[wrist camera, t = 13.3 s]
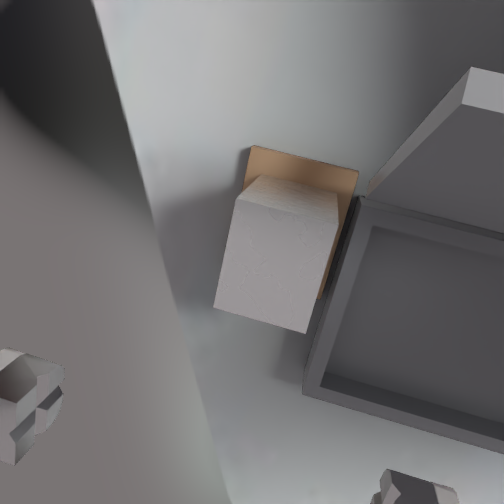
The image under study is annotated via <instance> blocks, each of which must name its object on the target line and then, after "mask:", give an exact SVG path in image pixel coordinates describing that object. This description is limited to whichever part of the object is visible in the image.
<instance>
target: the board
mask: <svg viewBox="0 0 504 504" xmlns="http://www.w3.org/2000/svg"><path fill="white" fill-rule="evenodd" d="M261 174H264V175H268V176H272V177H276V178H280V179H284V180H288V181H291V182H295V183H299V184H303V185H307V186H311V187H315V188H319V189H323V190H327V191H331V192H335V193H337V202H338V223H339V225H338V229H337V232H336V235H335V239H334V242H333V245H332V248H331V252H330V255H329V258H328V262H327V265H326V268H325V272H324V275H323V278H322V281H321V285H320V288H319V291H318V295H317V299H321V296H322V293H323V290H324V286H325V283H326V280H327V277H328V273H329V270H330V267H331V263H332V260H333V257H334V254H335V250H336V247H337V244H338V241H339V237H340V234H341V231H342V228H343V224H344V221H345V218H346V214H347V211H348V208H349V205H350V201H351V198H352V195H353V192H354V188H355V185H356V182H357V179H358V175H359V172H358V171H356V170H352V169H348V168H344V167H340V166H336V165H332V164H328V163H324V162H320V161H316V160H312V159H307V158H303V157H299V156H295V155H291V154H287V153H283V152H279V151H275V150H271V149H267V148H263V147H259V146H255V145H254V146H252V147H251V151H250V155H249V160H248V165H247V169H246V174H245V179H244V183H243V188H242V192H243V191H244V190H245V189H246V188H247V187H248V186H250V185H251V184H252V183H253V182H254V181H255V180H256V179H257V178H258V177H259V176H260V175H261Z"/></svg>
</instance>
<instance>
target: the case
mask: <svg viewBox="0 0 504 504" xmlns="http://www.w3.org/2000/svg"><path fill="white" fill-rule="evenodd" d="M302 394H303V395H306V396H310V397H313V398H317V399H320V400H323V401H327V402H330V403H333V404H337V405H340V406H343V407H347V408H350V409H353V410H357V411H360V412H364V413H367V414H370V415H374V416H377V417H380V418H384V419H387V420H390V421H394V422H397V423H400V424H404V425H407V426H410V427H414V428H417V429H421V430H424V431H427V432H431V433H434V434H437V435H441V436H444V437H447V438H451V439H454V440H457V441H461V442H464V443H468V444H471V445H474V446H478V447H481V448H484V449H488V450H491V451H494V452H498V453H501V454H504V233H500V232H496V231H492V230H488V229H484V228H480V227H476V226H472V225H468V224H464V223H460V222H456V221H452V220H448V219H444V218H440V217H436V216H432V215H428V214H424V213H420V212H416V211H413V210H409V209H405V208H401V207H397V206H393V205H389V204H385V203H381V202H377V201H373V200H369V199H365V197H364V196H360V195H359V197H358V200H357V203H356V206H355V209H354V213H353V216H352V219H351V222H350V225H349V229H348V232H347V235H346V238H345V242H344V245H343V248H342V251H341V254H340V258H339V261H338V264H337V267H336V270H335V274H334V277H333V280H332V283H331V286H330V290H329V293H328V296H327V299H326V302H325V306H324V309H323V312H322V315H321V319H320V322H319V325H318V328H317V331H316V335H315V338H314V341H313V344H312V347H311V351H310V354H309V357H308V360H307V363H306V367H305V370H304V379H303V388H302Z"/></svg>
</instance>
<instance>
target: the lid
mask: <svg viewBox="0 0 504 504" xmlns="http://www.w3.org/2000/svg"><path fill="white" fill-rule="evenodd" d="M365 199H369V200H373V201H377V202H381V203H385V204H389V205H393V206H397V207H401V208H405V209H409V210H413V211H416V212H420V213H424V214H428V215H432V216H436V217H440V218H444V219H448V220H452V221H456V222H460V223H464V224H468V225H472V226H476V227H480V228H484V229H488V230H492V231H496V232H500V233H504V74H502V73H497V72H493V71H488V70H484V69H479V68H475V67H470V68H469V70H468V71H467V72H466V73H465V74H464V75H463V76H462V78H461V79H460V80H459V81H458V82H457V83H456V84H455V85H454V87H453V88H452V89H451V90H450V91H449V92H448V93H447V95H446V96H445V97H444V98H443V99H442V100H441V101H440V102H439V104H438V105H437V106H436V107H435V108H434V109H433V110H432V112H431V113H430V114H429V115H428V116H427V117H426V118H425V119H424V121H423V122H422V123H421V124H420V125H419V126H418V127H417V128H416V130H415V131H414V132H413V133H412V134H411V135H410V136H409V138H408V139H407V140H406V141H405V142H404V143H403V144H402V145H401V147H400V148H399V149H398V150H397V151H396V152H395V153H394V155H393V156H392V157H391V158H390V159H389V160H388V161H387V162H386V164H385V165H384V166H383V167H382V168H381V169H380V170H379V172H378V173H377V174H376V175H375V176H374V177H373V178H372V179H371V181H370V182H369V185H368V189H367V193H366V196H365Z"/></svg>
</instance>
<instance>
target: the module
mask: <svg viewBox="0 0 504 504" xmlns="http://www.w3.org/2000/svg"><path fill="white" fill-rule="evenodd" d="M338 225H339V223H338V202H337V193H335V192H331V191H327V190H323V189H319V188H315V187H311V186H307V185H303V184H299V183H295V182H291V181H288V180H284V179H280V178H276V177H272V176H268V175H264V174H261V175H260V176H259V177H258V178H257V179H256V180H255V181H254V182H253V183H252V184H251V185H250V186H248V187H247V188H246V189H245V190H244V191H243V192H242V193H241V194H240V195H239V196H238V197H237V198H236V201H235V206H234V210H233V215H232V220H231V225H230V229H229V234H228V239H227V244H226V248H225V253H224V258H223V263H222V267H221V272H220V277H219V281H218V286H217V291H216V296H215V300H214V305H213V308H216V309H220V310H223V311H227V312H230V313H234V314H237V315H241V316H244V317H248V318H251V319H255V320H258V321H262V322H265V323H269V324H272V325H276V326H279V327H283V328H286V329H290V330H293V331H297V332H300V333H304V334H306V331H307V328H308V324H309V321H310V318H311V314H312V311H313V308H314V304H315V301H316V298H317V295H318V291H319V288H320V285H321V281H322V278H323V275H324V272H325V268H326V265H327V262H328V258H329V255H330V252H331V248H332V245H333V242H334V239H335V235H336V232H337V229H338Z"/></svg>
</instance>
